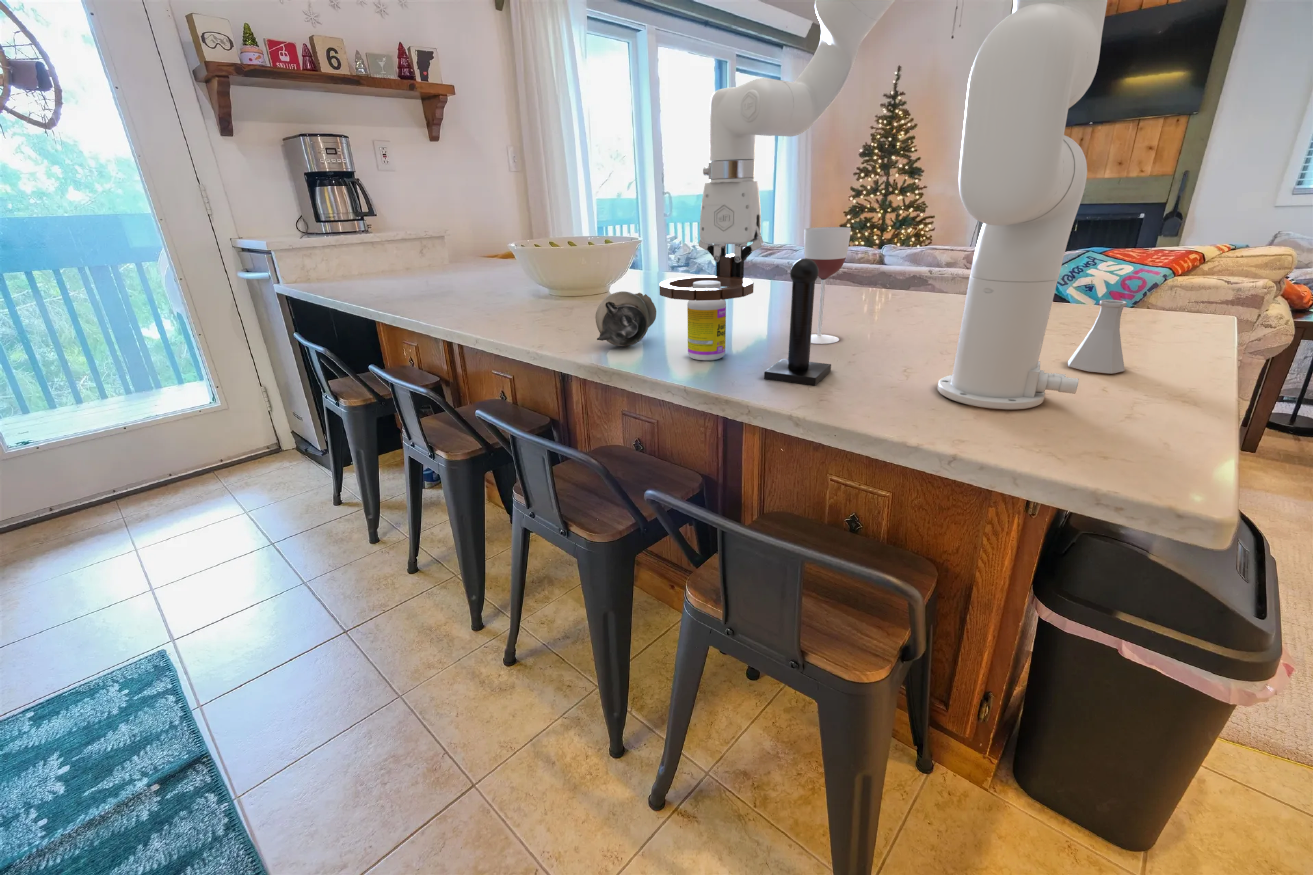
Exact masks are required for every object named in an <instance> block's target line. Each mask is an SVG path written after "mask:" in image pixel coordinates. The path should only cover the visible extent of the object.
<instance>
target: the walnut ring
mask: <svg viewBox="0 0 1313 875" xmlns="http://www.w3.org/2000/svg"><path fill="white" fill-rule="evenodd" d="M734 259H735V253H730V254H729V253H728V254H726V255H725V256H721V257H720V276H716V275H697V276H696V275H695V276H685V277H675V278H669V279H666V280H663V281H660V282H659V296H661V297H664V298H667V299H672V300H681V301H682V300H683V301H689V300H693V301H694V300H696V301H703V300H720V299H722V300H725V301H726V300H731V299H738V298H739V299H740V298H744V297H746V296H749V295H751V294H753V293H754V288H755V286H754V284H755V283H754V282H753V280H752V279H750V278H745V277H743V278H740V277H732V263H733V262H734ZM707 280H710V281H719V282H720V283H721V288H706V289H693V282H696V281H707Z"/></svg>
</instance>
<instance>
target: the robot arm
mask: <svg viewBox="0 0 1313 875" xmlns="http://www.w3.org/2000/svg"><path fill="white" fill-rule="evenodd" d="M895 1H896V0H814V10H815V14H816V16H817V19H818V21H819V24H820V37H819V38H820V39H819V42H818V46H817V48H816V50H815V52H814V54H813V55H812V57H811V59H810V60H809V62H808V63H807V65H806V66H805V67H804V69H803V70H802V71H801V73H799V75H798V76H797V77H796V79H795V80H794V81H789V80H782V79H774V78H765V77H761V78H756V79H752V80H749V81H748V82H746V83H744V84H741V85H738V86H731V87H725V88H720V89H717V90H715V91H714V92H713V93H712V95H711V97H710V99H709V100H710V102H709V162H708V165H707V167H706V166H705V167H703V169H702V174H703V176H706V177H708V180H709V182H705V183H704V187H703V192H702V198H701V205H700V216H699V217H700V218H699V241H698V246H699V248H700V249H702V250H704V251H707V252H708V253H709V255H711V257H712V258H713V261H714V262H715V264H716V267H715V269H716V270H715V271H716V272H715V273H716V275H715V276H720V257H721V256H725V255H727V245H734V254H735V259H734V262H733V263H732V277H740V278H745V277H744V274H745V261H747V259H748V258H749V257H750V255H751V254H752V253H754V252H756V251H759V250H760V249H762V248H764V246H765V242H764V239H763V236H762V234H761V233H762V232H761V231H762V211H761V197H760V190H759V184H758V181H757V180H755V160H756V159H755V157H756V156H755V154H756V136H764V137H765V136H766V137H767V136H768V137H774V136H775V137H788V138H789V137H796V136H799V135H801V134H803V133H804V132H806V131H807V130H809V129H810V128H812V126H813V125H814V124H815V123H816V122H817V121H818V120H819V119H820V118H821V117H822V116H823V114H824V113H825V112H826V111H827V110H828V109H829V107H830V106H831V105H832V104H833V102H834V101H835V100H836V99H837V98H838V96H839V95H840V94H841V92H842V90H843V89H844V88H845V85H847V84H846V83H847V81H848V80H849V77H850V74H851V72H852V70H853V68H854V65H855V62H856V60H857V57H858V53H859V50H860V47H861V44H862V42H863V41H864V39H865V38H866V37H867V35H868V34H869V33H870V32H871V30H873V28H874V27H875V26H876V24H878V22H879V21H880V20H881V18H882V17H883V16H884V15H885V13H886V12H887V11H888V10H889V9H890V7H891V6H892V5H893V4H894V3H895ZM1107 5H1108V0H1013V2H1012V11H1011V13H1010V14H1008V15H1007V16H1006V17H1004V18H1003V19H1002V20H1001V21H1000V22H998V23H997V24H996V25H995V26H994V28H992V29H991V31H990V32H989V33H988V34H987V36H986V37H985V38H984V40H983V42H982V44H981V45H980V47H979V49H978V50H977V53H976V56H975V57H974V60H973V63H972V66H971V69H970V72H969V77H968V81H967V90H966V99H965V109H964V119H963V128H962V138H961V146H960V147H961V148H960V158H959V168H958V192H959V197H960V202H961V204H962V206H963V208H964V209H965V211H966V212H967V213H968V214H969V216H971V217H972V219H974V220H976V221H978V222H980V223H982V226H981V229H980V232H979V235H978V238H977V242H976V244H975V245H976V246H975V248H974V254H973V258H972V263H971V269H970V275H969V278H968V284H967V289H966V295H965V301H964V306H963V312H962V318H961V324H960V329H959V335H958V341H957V346H956V352H955V358H954V362H953V369H952V374H950V375H946V376H943V377H942V378H940V379H939V380H938V383H937V391H938V392H939V394H941V396H943V397H945V398H947V399H949V400H952V401H953V402H957V403H959V404H964V405H968V406H972V407H979V408H983V409H993V410H1025V409H1031V408H1035V407H1038V406H1039V405H1041V404H1042V403H1043V402H1044V401H1045V397H1046V396H1045V395H1046V390H1047V391H1055V392H1058V393H1064V394H1072V395H1073V394H1074V395H1075V394H1076V393H1077V390H1078V386H1079V382H1080V381H1079V380H1080V379H1079V378H1076V377H1068V376H1067V375H1066V373H1056V372H1054V373H1052V372H1051V373H1050V372H1045V370H1044V369H1041V361H1040V356H1041V352H1042V348H1043V344H1044V340H1045V335H1046V331H1047V326H1048V323H1049V318H1050V314H1051V310H1052V305H1053V303H1054V298H1055V292H1056V289H1057V286H1058V280H1059V278H1060V274H1061V269H1062V265H1063V261H1064V258H1065V253H1066V249H1067V245H1068V242H1069V240H1070V235H1071V232H1072V228H1073V225H1074V223H1075V219H1076V216H1077V214H1078V211H1079V208H1080V205H1081V203H1082V199H1083V195H1084V192H1085V188H1086V184H1087V177H1088V164H1087V163H1088V162H1087V158H1086V156H1085V154H1084V151H1083V149H1082V147H1081V146H1080V145H1079V143H1077V142H1076V141H1075V140H1074V139H1073V138H1071V137H1070V136H1068V135H1065V130H1066V125H1067V119H1068V113H1069V109H1070V108H1072V107H1073V106H1074V105H1075V104H1077V103H1078V102H1079V101H1080V100H1081V99H1082V97H1084V95H1085V94H1086V92H1087V91H1088V90H1089V88H1090V87H1091V85H1092V83H1093V81H1094V78H1095V76H1096V73H1097V69H1098V66H1099V63H1100V62H1099V61H1100V54H1101V46H1102V37H1103V31H1104V24H1105V19H1106V18H1105V17H1106V11H1107ZM749 243H751V244H749Z"/></svg>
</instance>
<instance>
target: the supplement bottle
mask: <svg viewBox="0 0 1313 875" xmlns="http://www.w3.org/2000/svg"><path fill="white" fill-rule="evenodd" d="M706 288H722V287H721V283H720V282H719V281H710V280H707V281H696V282H693V287H692V289H706ZM686 305H687V308H686V309H687V310H686V311H687V355H688V356H689V358H691V359H692V360H697V361H715V360H716V361H717V360H719V359H722V358H723V357H724V356H725V354H726V342H727V341H726V340H727V337H726V336H727V335H726V334H727V333H726V332H727V331H726V330H727V302H726V299H725V300H722V299H720V300H703V301H696V300H694V301H693V300H687V304H686Z"/></svg>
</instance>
